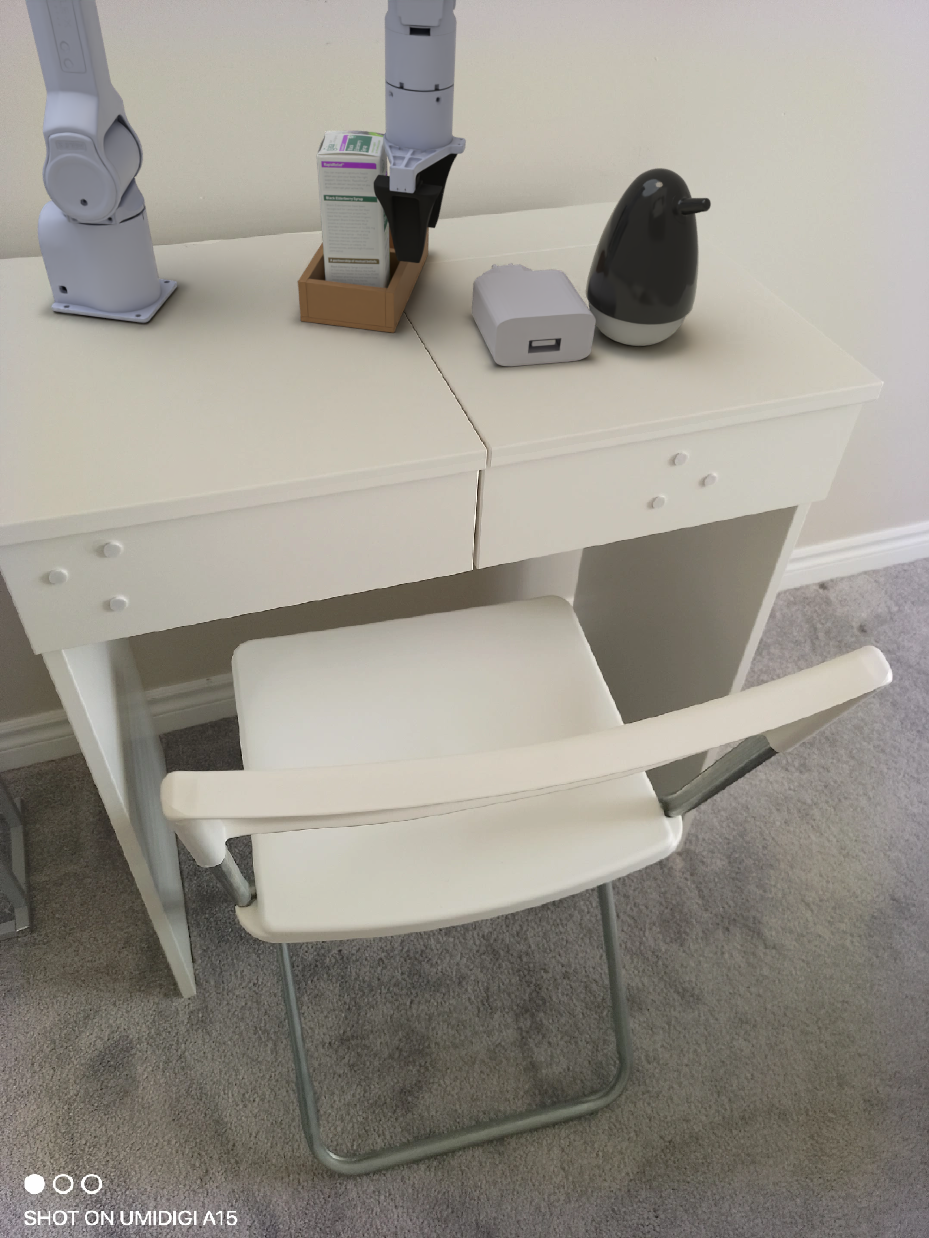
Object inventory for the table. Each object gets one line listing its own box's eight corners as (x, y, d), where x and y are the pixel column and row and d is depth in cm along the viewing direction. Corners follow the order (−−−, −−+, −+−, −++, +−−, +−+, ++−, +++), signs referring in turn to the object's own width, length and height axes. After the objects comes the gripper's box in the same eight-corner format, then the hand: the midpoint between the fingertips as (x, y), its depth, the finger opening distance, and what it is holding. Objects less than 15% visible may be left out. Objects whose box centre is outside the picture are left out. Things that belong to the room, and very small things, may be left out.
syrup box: (386, 313, 91) (385, 155, 81) (324, 310, 91) (315, 151, 81) (390, 286, 95) (389, 131, 85) (331, 283, 95) (323, 127, 85)
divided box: (300, 321, 91) (297, 281, 88) (345, 244, 103) (344, 207, 100) (394, 333, 90) (393, 293, 87) (428, 254, 102) (429, 217, 99)
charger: (543, 285, 98) (589, 360, 88) (456, 291, 97) (493, 368, 86) (548, 240, 95) (597, 312, 85) (458, 245, 93) (497, 319, 83)
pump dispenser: (638, 372, 87) (673, 204, 76) (558, 327, 92) (579, 163, 82) (708, 339, 92) (749, 177, 81) (628, 298, 97) (656, 140, 87)
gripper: (452, 114, 73) (446, 282, 83) (480, 60, 83) (472, 216, 93) (362, 104, 74) (367, 273, 83) (401, 52, 84) (401, 208, 94)
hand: (417, 242), depth 88 cm, fingers open, 7 cm apart
